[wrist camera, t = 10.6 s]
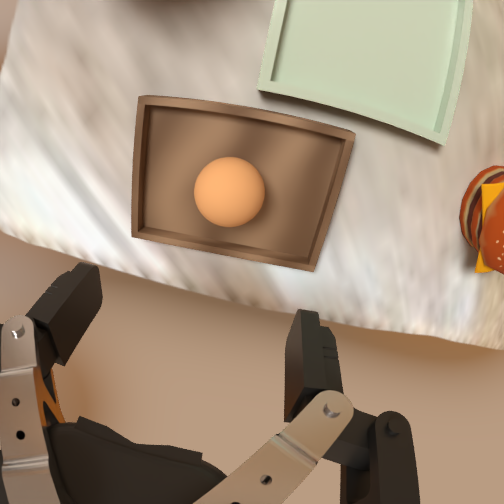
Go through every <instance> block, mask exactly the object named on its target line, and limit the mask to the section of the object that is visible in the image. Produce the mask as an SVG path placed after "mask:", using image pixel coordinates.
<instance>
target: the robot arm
mask: <svg viewBox="0 0 504 504" xmlns="http://www.w3.org/2000/svg"><path fill="white" fill-rule="evenodd" d="M102 298H103V296H102V289H101V281H100V274H99V269H98V267H97V266H95V265H92V264H88V263H84V262H80V263H79V264H77V266H76V267H75V268H74V269H73V270H72V271H71V272H70V271H67V272H66V273H64V274H62V275H61V276H59V277H58V278H57V279H56V280H55V281H54V282H53V283H52V284H51V287H49V288H48V289H47V290H46V292H45V293H44V294H43V295H42V296H41V297H40V298H39V300H38V301H37V302H36V303H35V304H34V305H33V307H32V308H31V309H30V310H29V312H28V313H27V314H26V315H25V316H22V315H21V316H14V317H12V318H10V319H9V320H7V321H6V322H5V324H0V443H1V450H0V504H282V503H283V502H284V501H285V500H286V499H287V498H288V496H289V495H290V494H291V493H292V492H293V491H294V490H295V489H296V488H297V487H298V486H299V485H300V484H301V482H302V481H303V480H304V479H305V478H306V477H307V476H308V475H309V473H310V472H311V471H312V470H313V469H314V467H315V466H316V465H317V463H318V461H319V460H320V459H321V458H324V459H327V460H330V461H333V462H336V463H339V464H341V483H340V504H420V496H419V485H418V476H417V467H416V460H415V453H414V446H413V439H412V433H411V428H410V424H409V422H408V421H407V419H406V418H405V417H404V416H403V415H401V414H400V413H397V412H394V411H387V412H384V413H382V414H380V415H379V416H378V417H376V416H373V415H370V414H367V413H364V412H361V411H359V410H357V409H355V408H354V407H353V405H352V403H351V401H350V400H349V399H348V398H347V397H346V396H345V395H344V393H343V387H342V381H341V373H340V366H339V360H338V352H337V347H336V340H335V337H334V335H333V334H332V332H331V330H330V329H329V328H328V327H323V326H320V322H319V314H318V312H314V311H308V310H302V309H298V311H297V313H296V316H295V318H294V321H293V324H292V326H291V330H290V332H289V335H288V338H287V341H286V348H285V401H284V402H285V403H284V404H285V405H284V422H289V423H290V424H289V425H288V426H287V427H286V428H285V429H284V430H283V431H282V432H281V433H279V434H276V435H275V436H274V437H272V438H271V439H270V440H269V441H268V442H267V443H265V444H264V445H263V446H262V447H261V448H260V449H259V450H258V451H257V452H256V453H255V454H254V455H252V456H251V457H250V458H249V459H248V460H247V461H246V462H244V463H243V464H242V465H241V466H240V467H239V468H237V469H236V470H235V471H234V472H233V473H232V474H230V475H229V476H226V475H225V474H224V473H223V472H222V471H221V470H219V469H218V468H216V467H215V466H213V465H211V464H210V463H208V462H206V461H203V460H202V453H200V452H196V451H191V450H187V449H182V448H178V447H174V446H170V445H145V444H136V443H133V442H131V441H129V440H128V439H126V438H124V437H123V436H121V435H120V434H118V433H116V432H115V431H113V430H112V429H110V428H109V427H107V426H104V425H102V424H99V423H96V422H94V421H91V420H88V419H86V418H84V417H81V416H79V418H78V421H77V423H72V422H68V423H66V421H65V419H64V417H63V414H62V412H61V408H60V404H59V400H58V395H57V390H56V385H55V380H54V374H53V370H52V366H53V365H54V363H57V364H60V365H62V366H65V365H66V363H67V361H68V359H69V357H70V356H71V354H72V353H73V351H74V349H75V347H76V346H77V344H78V343H79V341H80V339H81V338H82V336H83V335H84V333H85V331H86V330H87V328H88V327H89V325H90V323H91V322H92V320H93V319H94V317H95V316H96V314H97V313H98V311H99V309H100V307H101V304H102Z"/></svg>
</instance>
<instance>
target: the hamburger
mask: <svg viewBox="0 0 504 504" xmlns="http://www.w3.org/2000/svg"><path fill="white" fill-rule="evenodd" d="M460 222H461V229H462V233H463V235H464V236H465V238H466V240H467V241H468V243H469V244H470V245H471V246H472V247H474V248H476V250H477V252H478V253H479V254H478V259H477V263H476V268H475V273H482V272H489V271H493V270H496V271H498V272H500V273H502V274H504V166H492V167H489V168H487V169H485V170H483V171H481V172H480V173H479V174H478V175H477V176H476V177H475V178H474V179H473V181H472V182H471V183H470V184H469V187H468V189H467V191H466V193H465V195H464V197H463V199H462V204H461V211H460Z"/></svg>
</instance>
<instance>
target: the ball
mask: <svg viewBox="0 0 504 504" xmlns="http://www.w3.org/2000/svg"><path fill="white" fill-rule="evenodd" d="M264 197H265V187H264V182H263V179H262V177H261V175H260V173H259V172H258V170H257V169H256V168H255V167H254V166H253V165H252V164H250V163H249V162H247V161H245V160H243V159H240V158H236V157H224V158H219V159H216V160H214V161H212V162H211V163H209V164H208V165H207V166H205V167H204V168H203V170H202V171H201V172H200V174H199V175H198V177H197V179H196V182H195V187H194V198H195V202H196V205H197V207H198V209H199V211H200V212H201V214H202V215H203V216H204V217H205V218H206V219H207V220H209V221H210V222H212V223H214V224H216V225H218V226H222V227H236V226H240V225H243V224H245V223H247V222H249V221H250V220H251V219H253V218H254V217H255V216H256V214H257V213H258V212H259V210H260V209H261V207H262V205H263V201H264Z"/></svg>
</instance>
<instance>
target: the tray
mask: <svg viewBox="0 0 504 504" xmlns="http://www.w3.org/2000/svg"><path fill="white" fill-rule="evenodd" d="M355 136H356V134H355V133H353V132H352V131H350V130H347V129H343V128H340V127H336V126H333V125H329V124H325V123H321V122H317V121H313V120H309V119H305V118H301V117H296V116H292V115H287V114H283V113H278V112H273V111H268V110H263V109H257V108H252V107H246V106H240V105H234V104H227V103H221V102H214V101H206V100H198V99H189V98H179V97H168V96H155V95H144V96H139V97H138V105H137V115H136V126H135V138H134V152H133V171H132V206H131V234H132V237H135V238H140V239H145V240H150V241H155V242H160V243H165V244H170V245H175V246H180V247H185V248H190V249H195V250H201V251H206V252H211V253H216V254H221V255H226V256H232V257H237V258H242V259H247V260H252V261H258V262H263V263H268V264H273V265H279V266H284V267H289V268H295V269H300V270H305V271H311V272H314V269H315V266H316V263H317V260H318V257H319V254H320V251H321V248H322V245H323V242H324V239H325V236H326V233H327V230H328V227H329V224H330V221H331V218H332V214H333V211H334V208H335V205H336V202H337V198H338V195H339V192H340V188H341V185H342V182H343V178H344V175H345V171H346V168H347V165H348V161H349V157H350V154H351V150H352V147H353V143H354V139H355ZM224 157H236V158H240V159H243V160H245V161H247V162H249V163H250V164H252V165H253V166H254V167H255V168H256V169H257V170H258V172H259V173H260V175H261V177H262V179H263V182H264V187H265V197H264V201H263V205H262V207H261V209H260V210H259V212H258V213H257V214H256V216H255V217H254V218H253V219H251V220H250V221H249V222H247V223H245V224H243V225H240V226H236V227H222V226H218V225H216V224H214V223H212V222H210V221H209V220H207V219H206V218H205V217H204V216H203V215H202V214H201V212H200V211H199V209H198V207H197V205H196V202H195V198H194V187H195V182H196V179H197V177H198V175H199V174H200V172H201V171H202V170H203V168H204V167H205V166H207V165H208V164H209V163H211V162H212V161H214V160H216V159H219V158H224Z"/></svg>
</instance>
